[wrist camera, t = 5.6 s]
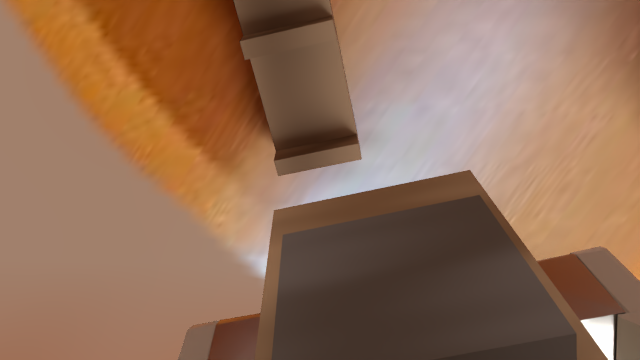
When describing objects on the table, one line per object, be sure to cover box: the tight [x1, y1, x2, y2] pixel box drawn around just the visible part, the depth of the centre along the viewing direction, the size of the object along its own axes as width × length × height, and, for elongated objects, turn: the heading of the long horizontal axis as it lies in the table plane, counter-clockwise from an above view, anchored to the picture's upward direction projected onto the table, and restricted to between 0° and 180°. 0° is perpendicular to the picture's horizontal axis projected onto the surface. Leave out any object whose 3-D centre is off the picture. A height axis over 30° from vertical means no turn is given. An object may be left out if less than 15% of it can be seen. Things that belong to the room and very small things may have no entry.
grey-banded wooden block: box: [254, 170, 609, 360], centre depth 8 cm, size 4×4×6 cm
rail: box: [233, 0, 362, 176], centre depth 21 cm, size 4×14×8 cm, turn 13°
